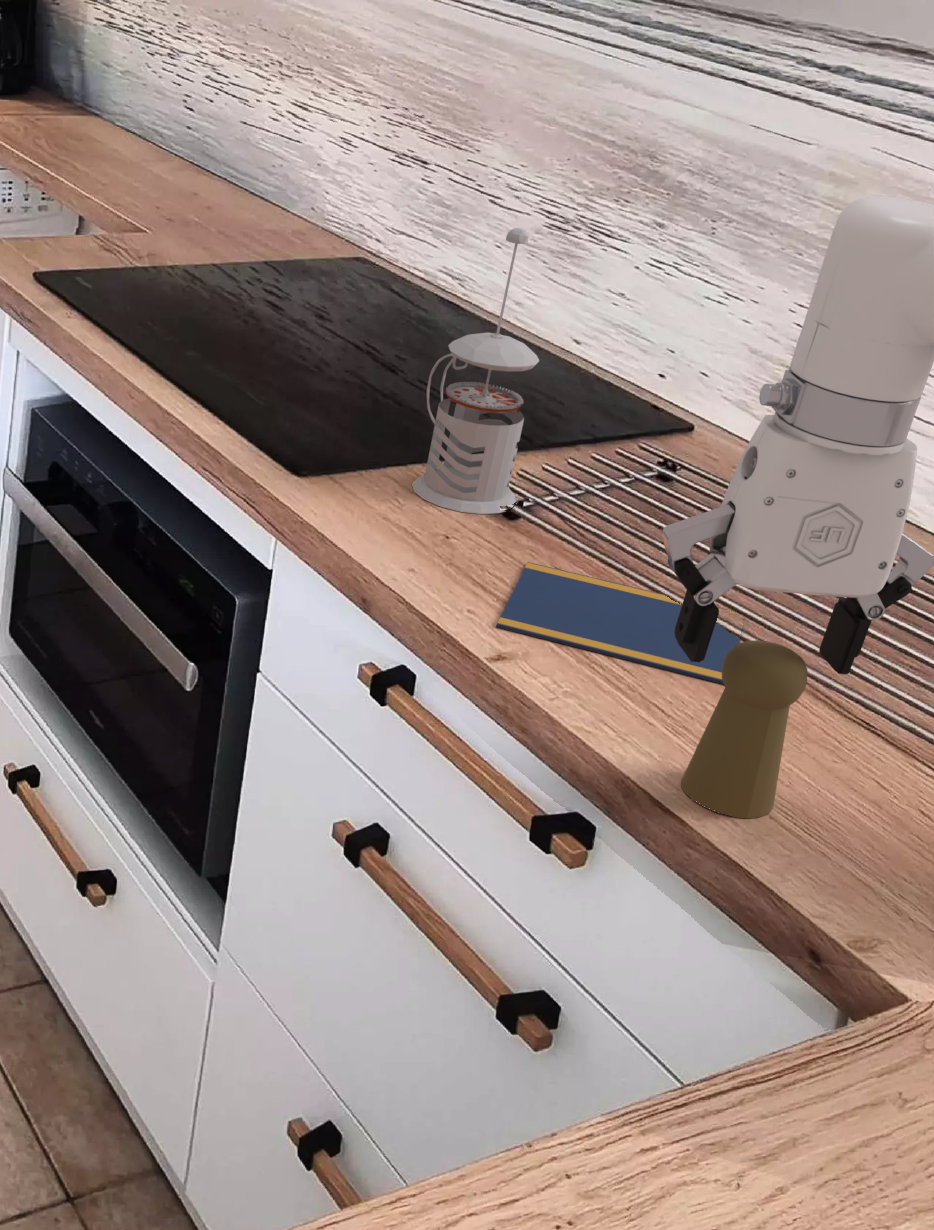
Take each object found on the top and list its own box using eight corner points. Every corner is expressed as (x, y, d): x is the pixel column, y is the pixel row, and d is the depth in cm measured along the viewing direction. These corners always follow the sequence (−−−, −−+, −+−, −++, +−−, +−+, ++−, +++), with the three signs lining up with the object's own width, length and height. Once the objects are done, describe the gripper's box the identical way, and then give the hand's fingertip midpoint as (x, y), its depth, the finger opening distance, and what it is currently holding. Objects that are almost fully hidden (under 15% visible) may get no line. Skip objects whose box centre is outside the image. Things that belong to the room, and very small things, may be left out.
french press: (458, 519, 156) (515, 246, 144) (378, 473, 165) (426, 211, 153) (539, 506, 160) (600, 240, 149) (457, 462, 169) (509, 207, 158)
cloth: (744, 616, 142) (745, 613, 142) (731, 686, 131) (732, 682, 131) (526, 564, 148) (527, 561, 148) (495, 627, 137) (496, 623, 136)
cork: (676, 763, 120) (717, 622, 114) (766, 779, 119) (812, 638, 113) (685, 808, 114) (729, 662, 109) (780, 825, 113) (828, 679, 108)
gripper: (728, 419, 100) (650, 676, 108) (1013, 445, 101) (915, 697, 109) (684, 376, 106) (614, 621, 115) (952, 401, 108) (864, 642, 116)
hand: (761, 658), depth 112 cm, fingers open, 9 cm apart
